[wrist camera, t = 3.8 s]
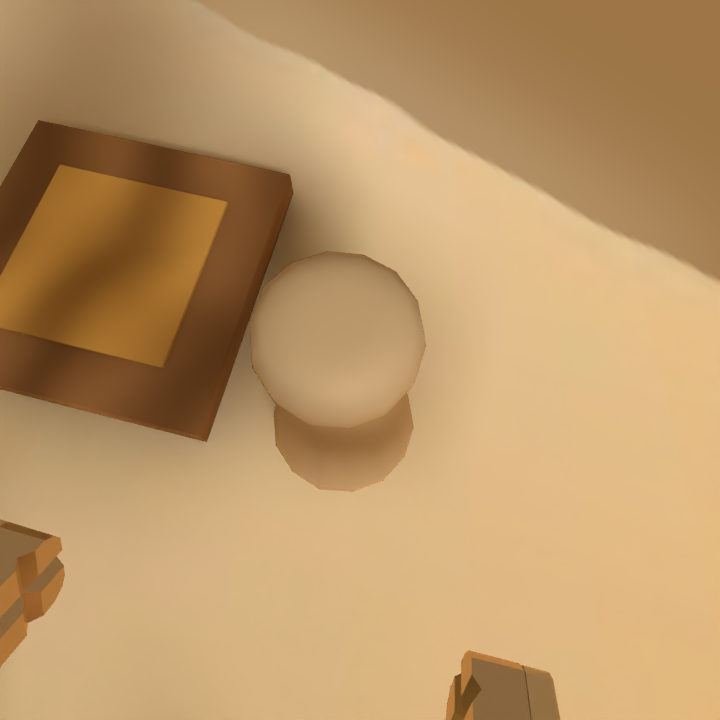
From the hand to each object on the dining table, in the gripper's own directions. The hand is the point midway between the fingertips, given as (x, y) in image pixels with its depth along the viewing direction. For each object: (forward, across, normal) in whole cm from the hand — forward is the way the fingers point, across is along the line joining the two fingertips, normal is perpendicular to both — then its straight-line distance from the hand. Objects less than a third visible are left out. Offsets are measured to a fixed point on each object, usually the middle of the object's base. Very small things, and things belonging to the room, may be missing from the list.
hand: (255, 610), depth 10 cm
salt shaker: (+13, 0, +5) cm, 14 cm away
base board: (+17, +13, +1) cm, 21 cm away
